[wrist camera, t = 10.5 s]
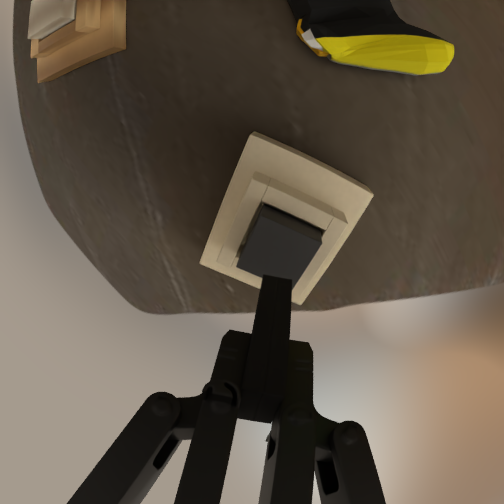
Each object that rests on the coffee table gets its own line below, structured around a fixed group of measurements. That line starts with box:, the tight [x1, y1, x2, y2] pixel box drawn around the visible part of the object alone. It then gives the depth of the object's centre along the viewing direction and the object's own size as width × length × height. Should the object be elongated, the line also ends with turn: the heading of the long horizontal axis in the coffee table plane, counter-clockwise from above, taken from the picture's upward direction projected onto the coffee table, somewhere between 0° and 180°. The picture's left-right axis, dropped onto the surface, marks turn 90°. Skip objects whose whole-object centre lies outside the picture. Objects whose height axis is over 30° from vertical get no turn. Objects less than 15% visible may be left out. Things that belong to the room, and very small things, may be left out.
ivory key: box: [28, 0, 77, 39], centre depth 10 cm, size 4×4×2 cm
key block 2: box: [200, 131, 374, 305], centre depth 22 cm, size 12×10×4 cm
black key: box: [236, 204, 322, 290], centre depth 19 cm, size 4×4×2 cm
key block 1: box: [31, 0, 126, 83], centre depth 13 cm, size 12×10×4 cm
